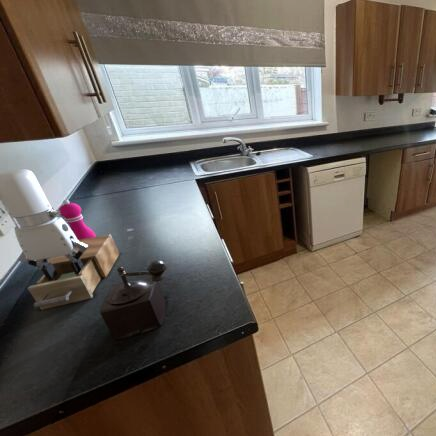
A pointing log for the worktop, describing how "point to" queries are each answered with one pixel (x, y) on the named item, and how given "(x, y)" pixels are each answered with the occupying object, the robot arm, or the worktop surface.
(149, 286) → the manual coffee grinder
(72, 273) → the block
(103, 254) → the cabinet
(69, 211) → the pepper mill
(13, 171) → the robot arm
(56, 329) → the worktop surface
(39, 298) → the drawer
